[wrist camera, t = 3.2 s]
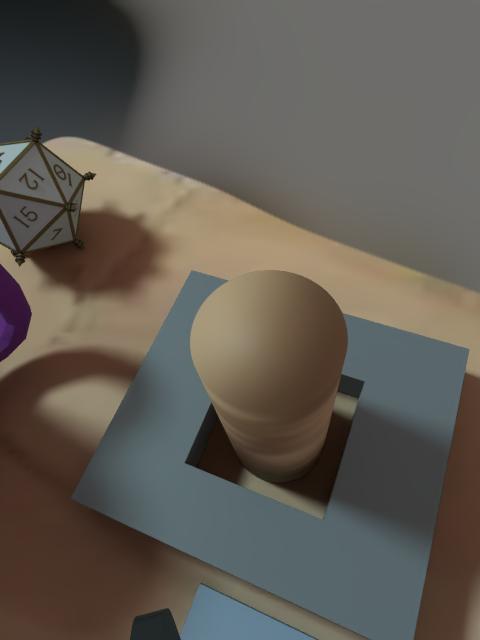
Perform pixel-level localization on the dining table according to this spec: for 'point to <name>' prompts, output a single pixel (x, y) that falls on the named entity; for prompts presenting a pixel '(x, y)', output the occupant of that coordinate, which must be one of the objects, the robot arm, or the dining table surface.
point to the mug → (12, 314)
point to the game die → (37, 198)
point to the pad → (232, 620)
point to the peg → (271, 368)
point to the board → (277, 518)
